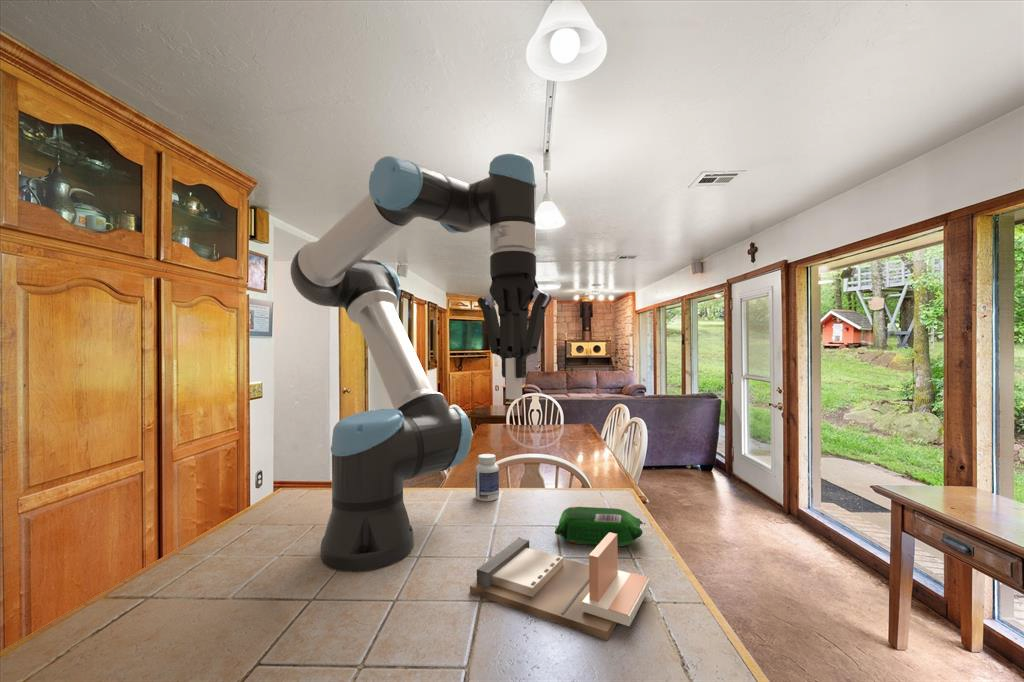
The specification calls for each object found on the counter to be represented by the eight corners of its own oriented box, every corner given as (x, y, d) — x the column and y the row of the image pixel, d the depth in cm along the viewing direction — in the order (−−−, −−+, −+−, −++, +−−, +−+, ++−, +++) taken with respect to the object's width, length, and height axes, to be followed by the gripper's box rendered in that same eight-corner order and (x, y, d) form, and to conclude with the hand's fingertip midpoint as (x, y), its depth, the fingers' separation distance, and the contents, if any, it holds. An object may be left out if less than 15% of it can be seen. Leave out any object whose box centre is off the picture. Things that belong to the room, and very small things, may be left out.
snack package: (647, 553, 74) (646, 522, 74) (554, 545, 77) (554, 515, 77) (642, 536, 81) (642, 507, 81) (557, 529, 84) (557, 502, 84)
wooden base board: (469, 592, 62) (469, 571, 62) (519, 552, 74) (519, 534, 74) (607, 640, 52) (606, 614, 52) (638, 584, 64) (638, 564, 64)
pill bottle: (503, 497, 101) (503, 455, 101) (486, 503, 98) (485, 459, 98) (488, 492, 105) (488, 451, 105) (470, 498, 101) (470, 455, 102)
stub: (582, 611, 55) (581, 557, 56) (607, 575, 64) (607, 528, 64) (629, 626, 52) (628, 568, 52) (649, 586, 61) (649, 537, 61)
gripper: (467, 254, 72) (467, 398, 71) (537, 244, 65) (539, 403, 65) (492, 261, 78) (493, 394, 78) (559, 253, 72) (560, 398, 71)
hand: (514, 398), depth 71 cm, fingers closed
